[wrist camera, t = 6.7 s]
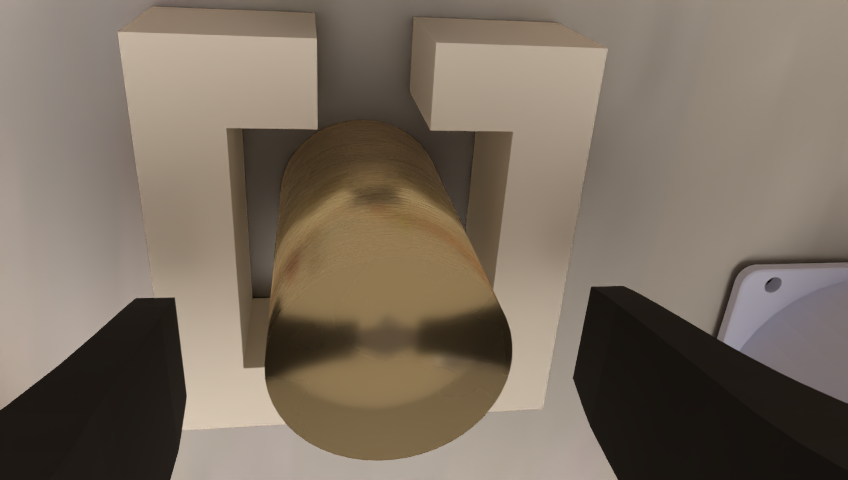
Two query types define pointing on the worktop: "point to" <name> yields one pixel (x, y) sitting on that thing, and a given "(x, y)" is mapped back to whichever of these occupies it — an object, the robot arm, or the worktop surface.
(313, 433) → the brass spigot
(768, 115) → the worktop surface
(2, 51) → the worktop surface
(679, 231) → the worktop surface
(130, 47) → the dock
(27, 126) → the worktop surface
